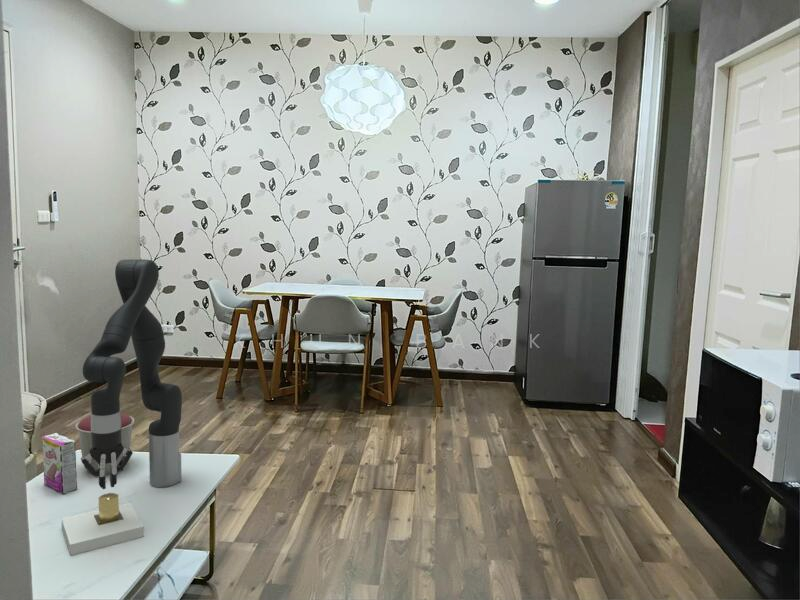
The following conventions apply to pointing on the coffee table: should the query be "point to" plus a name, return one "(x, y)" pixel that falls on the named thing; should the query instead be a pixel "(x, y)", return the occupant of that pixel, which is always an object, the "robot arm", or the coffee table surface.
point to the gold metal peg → (108, 508)
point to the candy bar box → (59, 463)
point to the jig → (100, 530)
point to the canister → (85, 438)
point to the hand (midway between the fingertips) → (107, 486)
